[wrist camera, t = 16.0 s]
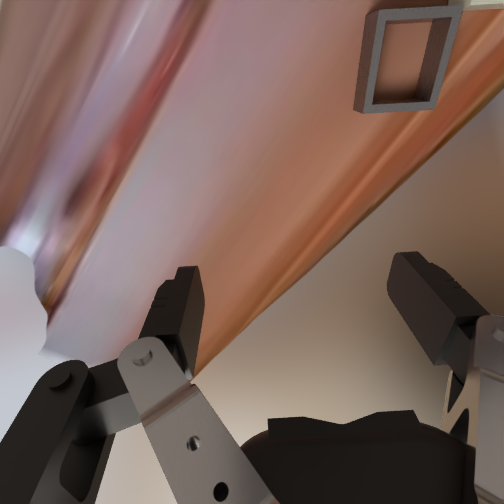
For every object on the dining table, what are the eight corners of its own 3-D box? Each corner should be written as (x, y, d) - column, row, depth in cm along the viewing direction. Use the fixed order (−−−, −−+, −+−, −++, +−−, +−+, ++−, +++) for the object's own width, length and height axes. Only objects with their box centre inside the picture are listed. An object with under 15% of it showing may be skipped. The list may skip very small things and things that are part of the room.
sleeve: (366, 15, 35) (379, 9, 32) (442, 10, 35) (464, 4, 32) (353, 109, 41) (363, 113, 37) (418, 106, 41) (434, 109, 37)
